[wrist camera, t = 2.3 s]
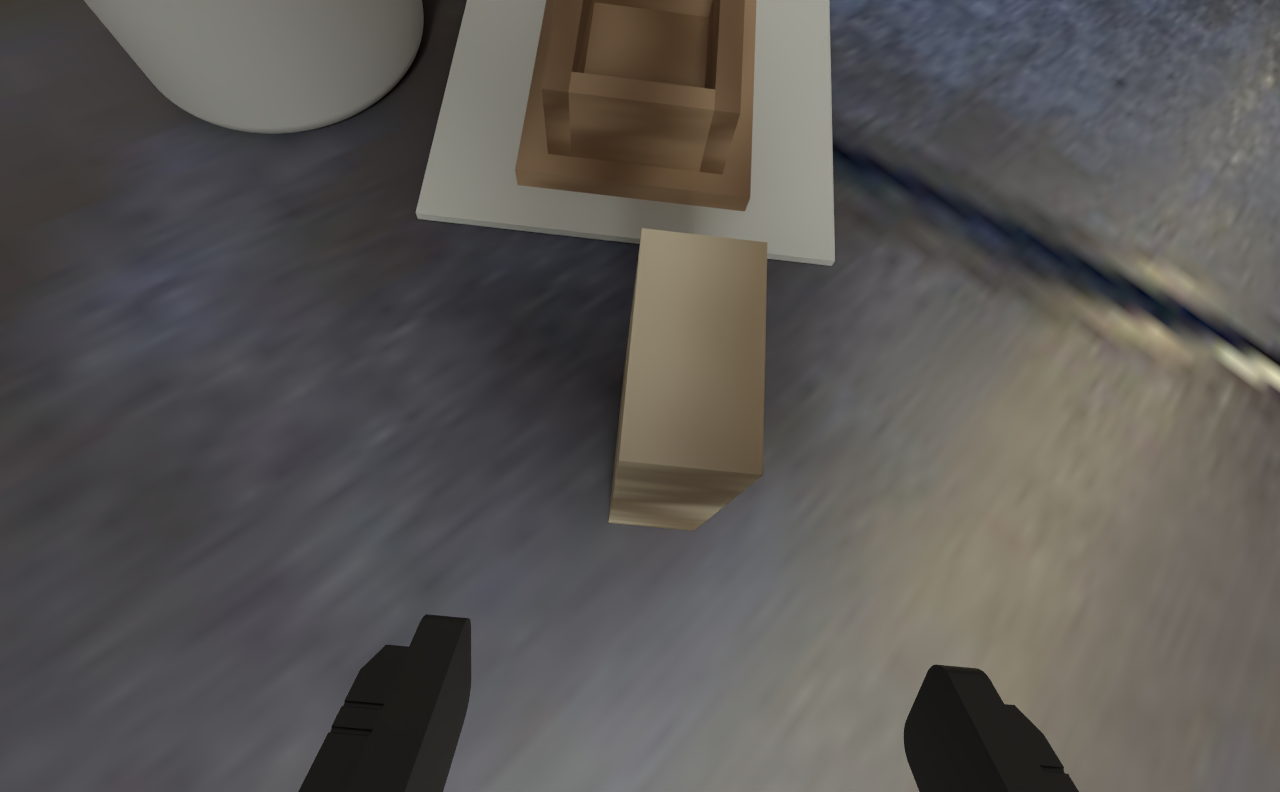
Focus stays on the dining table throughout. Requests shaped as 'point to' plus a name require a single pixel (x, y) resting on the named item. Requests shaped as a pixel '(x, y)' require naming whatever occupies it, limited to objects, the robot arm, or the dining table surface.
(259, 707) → the dining table surface
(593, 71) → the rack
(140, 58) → the cylinder vase
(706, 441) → the beech block
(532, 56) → the mat
